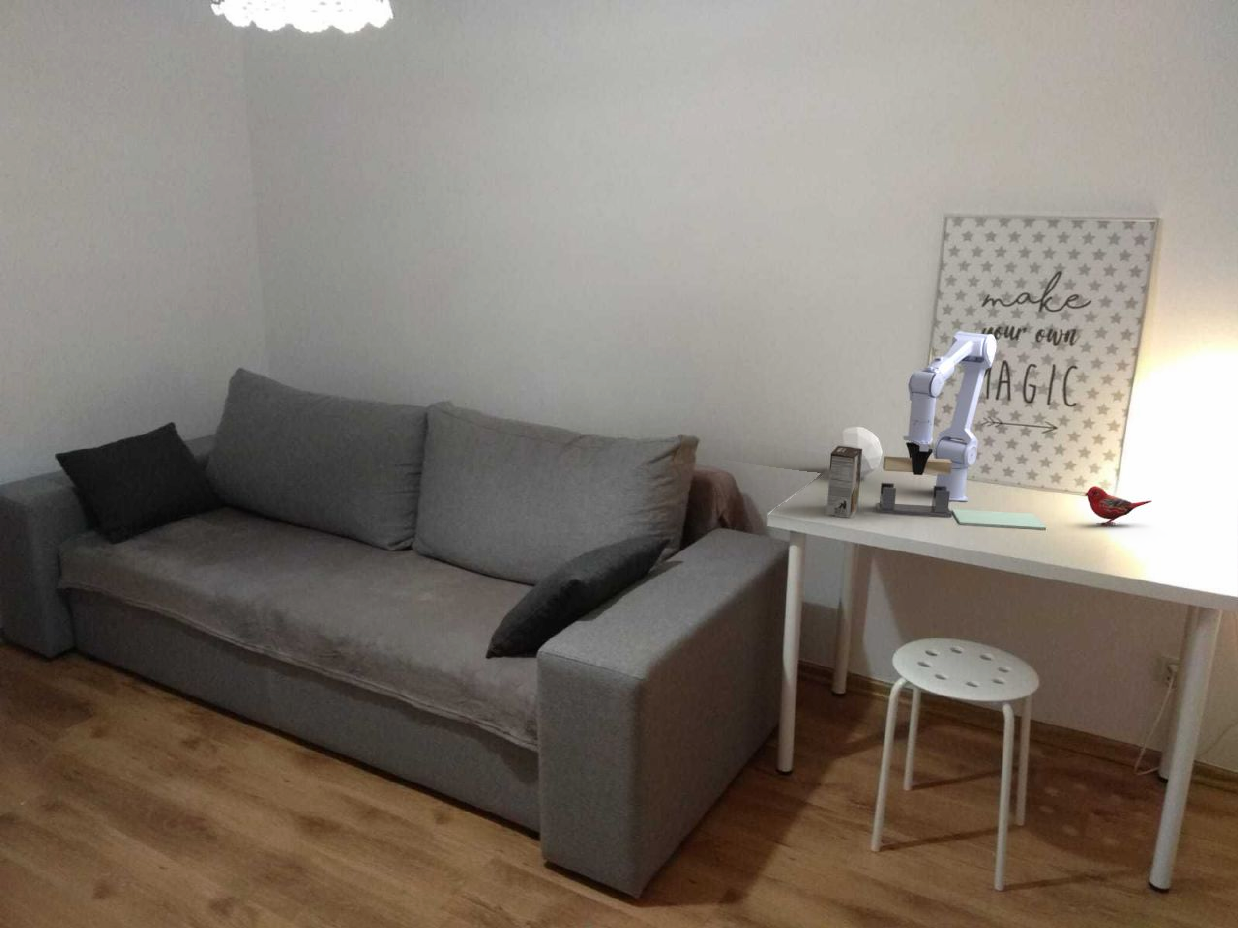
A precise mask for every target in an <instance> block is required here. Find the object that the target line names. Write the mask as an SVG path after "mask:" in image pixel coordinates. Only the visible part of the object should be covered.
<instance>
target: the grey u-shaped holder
mask: <svg viewBox="0 0 1238 928" xmlns="http://www.w3.org/2000/svg"><path fill="white" fill-rule="evenodd" d="M946 488H947V487H946V486H936V485H933V488H932V489H933V492H932V499H931V500H932V501H931V505H925V504H924V505H921V504H908V503H907V504H905V503H896V495H897V493H896V492H897V488H896V487H895V484H894V483H893V482H891V483H890V482H881V486H880V495H879V502H874V503H875V504H874V506H875V509H876V511H877V512H876V513H877V514H890V515H901V516H903V515H905V516H919V517H920V516H922V517H936V518H937V517H938V518H952V516H953V513H952V510H950V509H949V502H950V500H949V495H950V492H949V491H946Z"/></svg>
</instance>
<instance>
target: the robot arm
mask: <svg viewBox="0 0 1238 928" xmlns="http://www.w3.org/2000/svg"><path fill="white" fill-rule="evenodd" d="M996 351H997V339H996V338H995V336H994V335H993V334H991V333H988V334H985V333H973V332H966V331H965V332H964V331H961V330H960V331H957V332H956V333H955V334H954V335H953V336H952V340H951V346H950V347H949V349H948V350H947V351H946V352H945V353H944V355H937V356H935V358H934V359H933V360H932V361H931V362H930V363H929V364H928V365H927V366H926V367H924V369H922V370H921V371H919V370H918V371H916V372H914V373H912V374H911V376H910V378H909V382H908V383H907V384H908V385H907V386H908V392H909V400H910V401H911V405H910V414H909V415H910V416H909V423H908V424H909V426H908V435H903V437H902V439H903V440H904V441H907V442H906V443H905V444H906V445H905V446H906V447H907V450H908V454H909V458H912V468H913V472H912V473H913V475H914V476H923V474H924V473H923V472H924V469H925V465H926V462H927V460H928V459H930V456H931V455H933V458H934V459H946V460H950V461H951V462H952V465H951V474H936V479H935V480H936V481H935V486H946V487H947V488H946V491H949V492H950V495H949V501H954V502H955V501H956V502H969V498H968V497H967V495H965V494H966V487H967V486H966V485H967V476H968V468H969V467H971V466H972V465H973V464H974V463H975V461H976V459H977V456H978V444H979V440H978V439H977V437H976V436H975V435H974V434H973V432H972V431H971V427H972V424H973V421H974V416H975V412H976V409H977V404H978V400H979V396H980V393H981V390H982V386H983V382H984V378H985V374H986V370H988V369H990V368H992V365H993V363H994V359H995V356H996ZM957 364H959V365H960V366H963V369H964V373H963V377H962V381H961V385H960V389H959V394H958V397H957V401H956V403H955V407H954V413H953V416H952V420H951V423H950V427H948V428H946V429H943V430H942V431H941V432H939V434H938V437H937V440H936V442H935V443H934V446H933V448H930V446H931V444H932V443H933V441H934V438H933V434H934V422H935V414H936V403H937V397H938V396H939V395H940V394H941V392H942V388H943V387H944V384H945V382H946V381H947V379H949V378H950V377H951V376H952V375H953V374H954V371H955V366H956V365H957ZM932 453H933V454H932ZM933 489H934V488H931V492H932V493H933Z"/></svg>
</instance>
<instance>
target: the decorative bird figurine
mask: <svg viewBox="0 0 1238 928" xmlns="http://www.w3.org/2000/svg"><path fill="white" fill-rule="evenodd" d="M1084 496H1087V499H1088V502H1089V503H1088V504H1089V507H1090V509H1091V511H1092V512H1093V513H1094V514H1095V515H1096V516H1097V517H1099V518H1102V519H1104V520H1108V521H1105V522H1104V521H1103V522H1100V523H1099V522H1096V523H1095V524H1096V525H1101V526H1107V525H1109V526H1112V525H1116V523H1115V522H1114V521H1115V520H1117V519H1119V518H1122V517H1123V516H1126V515H1128V514H1130V513H1131V512H1132V511H1133V510H1134V509H1136V508H1138V507H1141V506H1143V505H1144V506H1145V505H1146V504H1150V503H1151V502H1152V500H1145V501H1144V500H1143V501H1138V502H1131V501H1129V500H1126V499H1123V498H1121V497H1117V496H1113V495H1110V494H1108V493H1107V492H1106V491H1105V490H1104V489H1103V488H1101V487H1098V486H1091V487H1090V488H1089V489H1088V491H1087V492H1086V493H1085V494H1084Z"/></svg>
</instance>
